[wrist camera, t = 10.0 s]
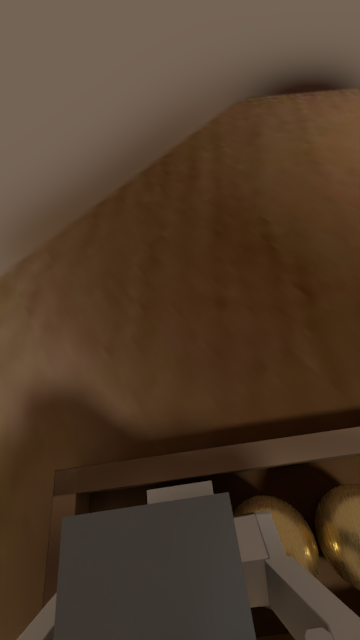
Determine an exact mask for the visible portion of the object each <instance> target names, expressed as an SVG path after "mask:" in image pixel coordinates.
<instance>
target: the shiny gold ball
mask: <svg viewBox="0 0 360 640" xmlns="http://www.w3.org/2000/svg"><path fill="white" fill-rule="evenodd" d="M315 530H316V536H317V540H318V543H319V545H320V548H321V550H322V552H323V554H324V556H325V558H326V559H327V561H328V562H329V564H330V565H331V567H332V568H333V569H334V570H335V571H336V573H337V574H338V575H339V576H340V577H341V578H343V579H344V580H345V581H346V582H347V583H349V584H350V585H352V586H353V587H355V588H356V589H358V590H360V484H344V485H339V486H337V487H334V488H333V489H331V490H329V491H328V492H327V493H326V494H325V495H324V496H323V497H322V499H321V500H320V502H319V504H318V507H317V510H316V514H315Z"/></svg>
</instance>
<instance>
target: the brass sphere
mask: <svg viewBox="0 0 360 640" xmlns="http://www.w3.org/2000/svg"><path fill="white" fill-rule="evenodd" d="M265 510H268V511H269V512H270V513H271V516H272V519H273V521H274V524H275V527H276V529H277V532H278V535H279V537H280V540H281V543H282V545H283V548H284V551H285V553H286V556H292V557H293V558H294V559H295V560H296V561H297V562H298V563H300V564H301V565H302V566H303V567H304V568H305V569H306V570H307V571H308V572H310V573H311V574H312V575H313V576H314V577H315V578H316V579H318V575H319V553H318V547H317V543H316V540H315V537H314V535H313V533H312V531H311V529H310V527H309V525H308V523H307V522H306V520H305V519H304V518H303V516H302V515H301V514H300V513H299V512H298V511H297V510H296V509H295V508H294V507H292V506H291V505H290V504H288V503H287V502H285V501H283V500H281V499H279V498H276V497H272V496H266V495H261V496H255V497H251V498H249V499H247V500H245V501H244V502H242V503H241V504H240V505H239V506H238V507H237V508H236V509H235V510H234V512H233V515H239V514H245V513H251V512H259V511H265ZM263 607H266V608H268V609H271V608H270V606H263Z"/></svg>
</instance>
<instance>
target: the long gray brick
mask: <svg viewBox="0 0 360 640" xmlns="http://www.w3.org/2000/svg"><path fill="white" fill-rule="evenodd" d="M147 503H148V504H146V505H140V506H133V507H127V508H120V509H113V510H107V511H100V512H94V513H87V514H81V515H74V516H67V517H62V527H61V541H60V554H59V568H58V581H57V595H56V608H55V622H54V635H53V640H256V635H255V630H254V624H253V619H252V614H251V608H250V603H249V598H248V592H247V587H246V582H245V576H244V571H243V566H242V560H241V555H240V550H239V544H238V539H237V534H236V528H235V523H234V518H233V512H232V507H231V502H230V496H229V492H225V493H219V494H214V493H213V487H212V481H204V482H198V483H191V484H184V485H178V486H171V487H165V488H158V489H152V490H147Z"/></svg>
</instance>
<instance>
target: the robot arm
mask: <svg viewBox="0 0 360 640" xmlns="http://www.w3.org/2000/svg"><path fill="white" fill-rule="evenodd" d="M233 518H234V523H235V528H236V534H237V539H238V544H239V550H240V555H241V560H242V566H243V571H244V576H245V582H246V587H247V592H248V598H249V603H250V608H251V607H260V606H270V608H271V609H272V610H273V611H274V613H275V614H276V615H277V617H278V618H279V619H280V620H281V622H282V623H283V624H284V626H285V627H286V628H287V630H288V631H289V632H290V633H291V635H292V636H293V637H294V639H295V640H360V618H359V617H358V616H357V615H356V614H355V613H354V612H353V611H352V610H351V609H349V608H348V607H347V606H346V605H345V604H344V603H343V602H342V601H341V600H339V599H338V598H337V597H336V596H335V595H334V594H333V593H332V592H331V591H329V590H328V589H327V588H326V587H325V586H324V585H323V584H322V583H321V582H319V581H318V580H317V579H316V578H315V577H314V576H313V575H312V574H311V573H310V572H308V571H307V570H306V569H305V568H304V567H303V566H302V565H301V564H300V563H298V562H297V561H296V560H295V559H294V558H293V557H292V556H286V553H285V551H284V548H283V545H282V543H281V540H280V537H279V535H278V532H277V529H276V527H275V524H274V521H273V519H272V516H271V513H270V512H269V511H268V510H265V511H259V512H251V513H245V514H239V515H233ZM56 595H57V592H56V594H55V595H54V596H53V597H52V598H51V599H50V601H49V602H48V603H47V604H46V605H45V606H44V608H43V609H42V610H41V611H40V612H39V613H38V615H37V616H36V617H35V618H34V619H33V621H32V622H31V623H30V624H29V625H28V626H27V628H26V629H25V630H24V631H23V632H22V633H21V635H20V636H19V637H18V638H17V639H16V640H53V635H54V622H55V608H56Z"/></svg>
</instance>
